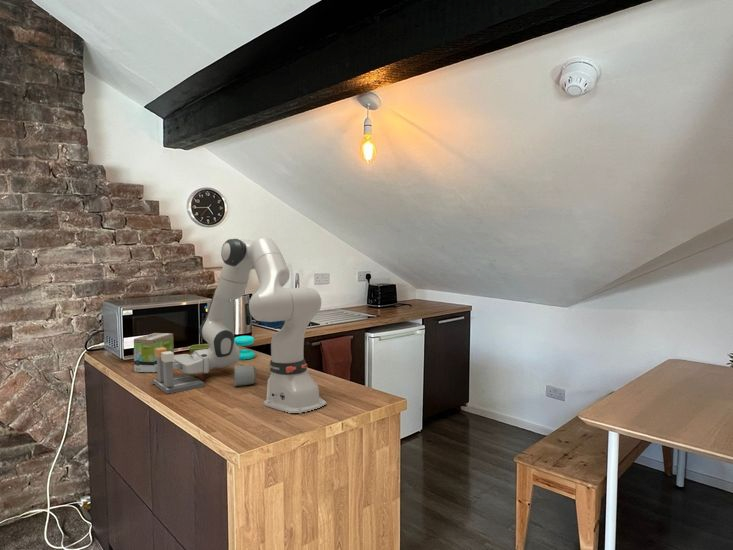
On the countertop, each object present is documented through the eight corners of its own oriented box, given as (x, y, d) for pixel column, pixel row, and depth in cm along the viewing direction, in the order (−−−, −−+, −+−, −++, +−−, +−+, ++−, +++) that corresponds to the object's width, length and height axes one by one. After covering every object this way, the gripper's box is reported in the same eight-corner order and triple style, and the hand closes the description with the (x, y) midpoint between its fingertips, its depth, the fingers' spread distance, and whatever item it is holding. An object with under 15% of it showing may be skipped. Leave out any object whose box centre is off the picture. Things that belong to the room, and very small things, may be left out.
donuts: (258, 336, 229) (241, 340, 221) (259, 357, 229) (242, 361, 222) (245, 334, 235) (228, 337, 227) (245, 354, 235) (229, 358, 228)
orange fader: (168, 380, 185) (167, 348, 184) (159, 382, 183) (158, 350, 182) (164, 378, 188) (163, 347, 188) (156, 379, 186) (154, 348, 186)
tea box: (155, 373, 203) (153, 339, 202) (133, 373, 204) (132, 338, 203) (175, 364, 217) (173, 332, 216) (154, 364, 219) (153, 332, 218)
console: (204, 386, 183) (204, 382, 183) (166, 394, 174) (166, 390, 174) (187, 376, 197) (187, 373, 197) (151, 383, 188) (151, 379, 188)
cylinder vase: (228, 347, 252) (226, 300, 250) (238, 351, 242) (237, 302, 241) (205, 351, 244) (203, 302, 242) (214, 355, 234) (213, 304, 233)
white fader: (175, 386, 178) (173, 353, 177) (166, 387, 176) (164, 354, 175) (171, 383, 181) (169, 351, 180) (162, 385, 179) (161, 352, 178)
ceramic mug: (257, 386, 183) (256, 366, 183) (235, 388, 181) (234, 368, 180) (253, 379, 193) (253, 360, 193) (232, 381, 191) (232, 362, 190)
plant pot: (187, 364, 218) (186, 345, 217) (209, 361, 222) (208, 343, 221) (190, 369, 209) (189, 349, 209) (212, 366, 214) (211, 347, 213)
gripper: (190, 349, 203) (156, 354, 194) (209, 357, 187) (173, 363, 178) (191, 363, 203) (157, 369, 194) (210, 373, 188) (174, 380, 179)
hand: (164, 366), depth 186 cm, fingers closed, pressing on orange fader
